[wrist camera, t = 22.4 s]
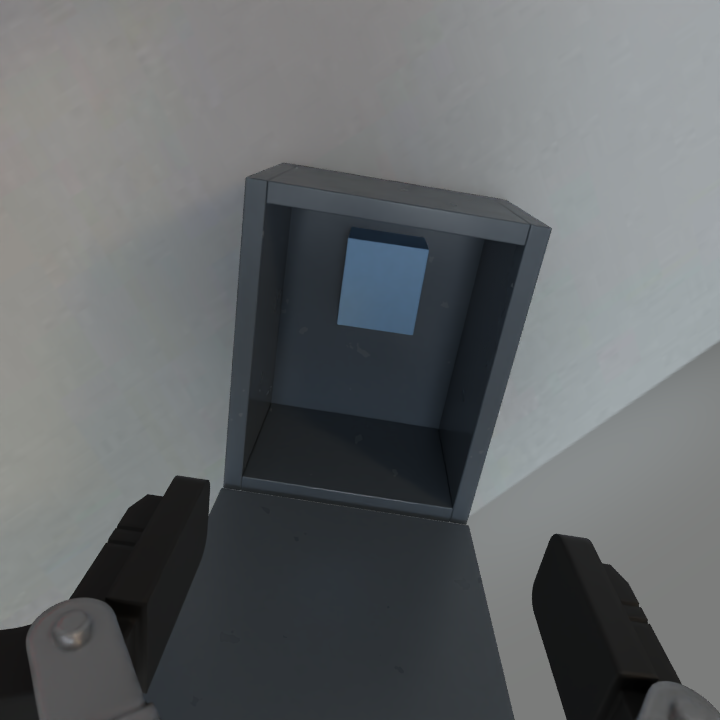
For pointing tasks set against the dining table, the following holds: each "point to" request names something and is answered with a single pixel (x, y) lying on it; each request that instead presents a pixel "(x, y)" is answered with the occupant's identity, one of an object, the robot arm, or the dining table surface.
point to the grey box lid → (331, 619)
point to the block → (382, 280)
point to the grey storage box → (373, 344)
